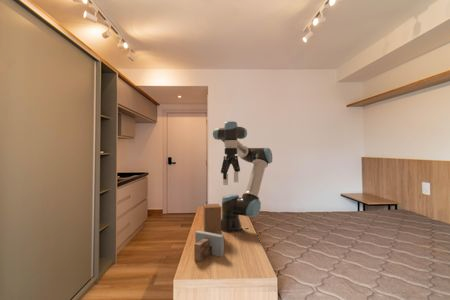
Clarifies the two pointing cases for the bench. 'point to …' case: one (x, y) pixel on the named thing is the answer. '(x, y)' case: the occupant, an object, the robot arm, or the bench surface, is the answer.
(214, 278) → the bench surface
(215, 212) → the wooden block
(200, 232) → the notched plate
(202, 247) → the slotted beam
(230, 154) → the robot arm
